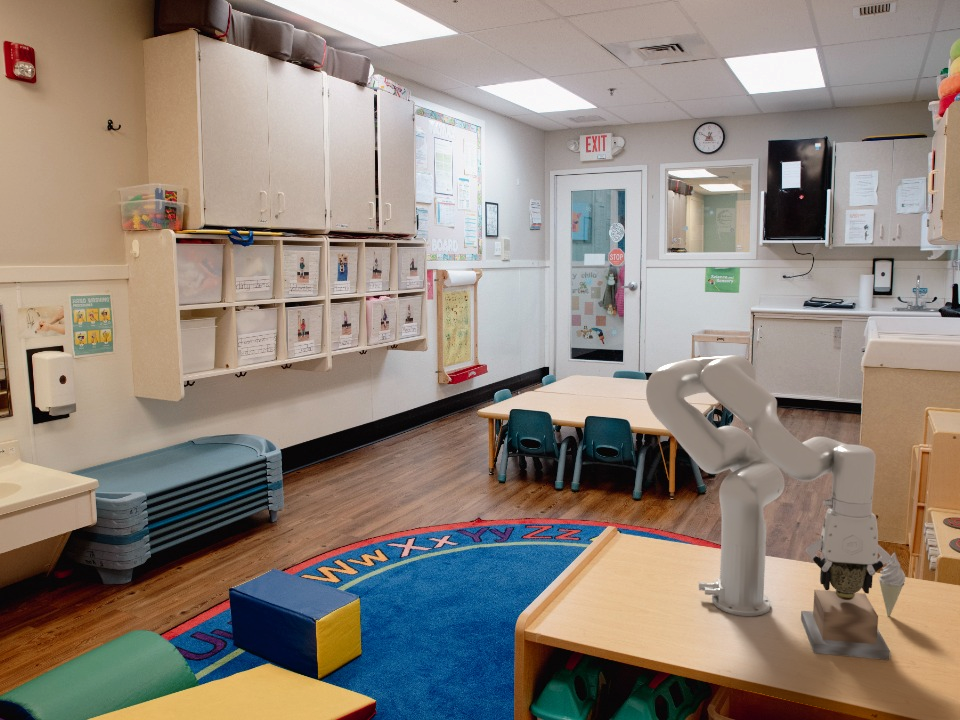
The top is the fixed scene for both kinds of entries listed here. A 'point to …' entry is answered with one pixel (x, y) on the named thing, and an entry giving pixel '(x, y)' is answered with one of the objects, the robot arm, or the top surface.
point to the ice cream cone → (891, 583)
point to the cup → (847, 579)
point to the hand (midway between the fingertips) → (845, 588)
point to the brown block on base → (844, 626)
